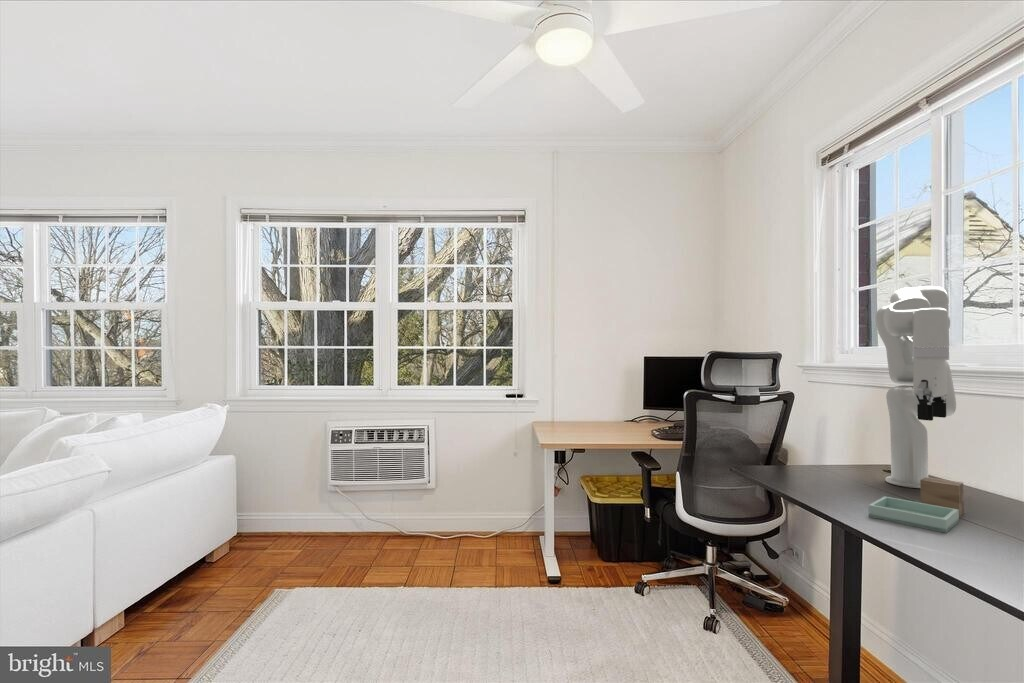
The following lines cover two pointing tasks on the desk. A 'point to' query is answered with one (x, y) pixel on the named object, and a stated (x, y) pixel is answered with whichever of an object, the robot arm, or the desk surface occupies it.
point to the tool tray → (914, 514)
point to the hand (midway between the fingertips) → (932, 418)
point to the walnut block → (942, 493)
